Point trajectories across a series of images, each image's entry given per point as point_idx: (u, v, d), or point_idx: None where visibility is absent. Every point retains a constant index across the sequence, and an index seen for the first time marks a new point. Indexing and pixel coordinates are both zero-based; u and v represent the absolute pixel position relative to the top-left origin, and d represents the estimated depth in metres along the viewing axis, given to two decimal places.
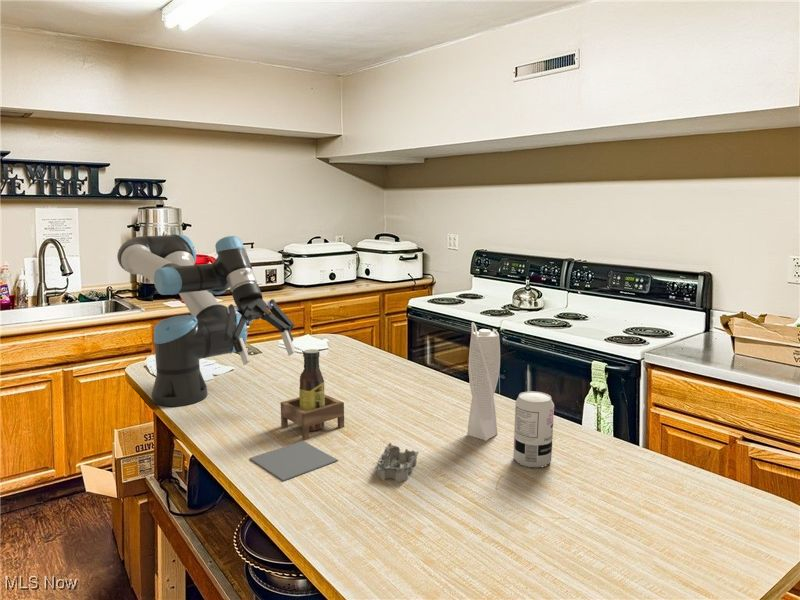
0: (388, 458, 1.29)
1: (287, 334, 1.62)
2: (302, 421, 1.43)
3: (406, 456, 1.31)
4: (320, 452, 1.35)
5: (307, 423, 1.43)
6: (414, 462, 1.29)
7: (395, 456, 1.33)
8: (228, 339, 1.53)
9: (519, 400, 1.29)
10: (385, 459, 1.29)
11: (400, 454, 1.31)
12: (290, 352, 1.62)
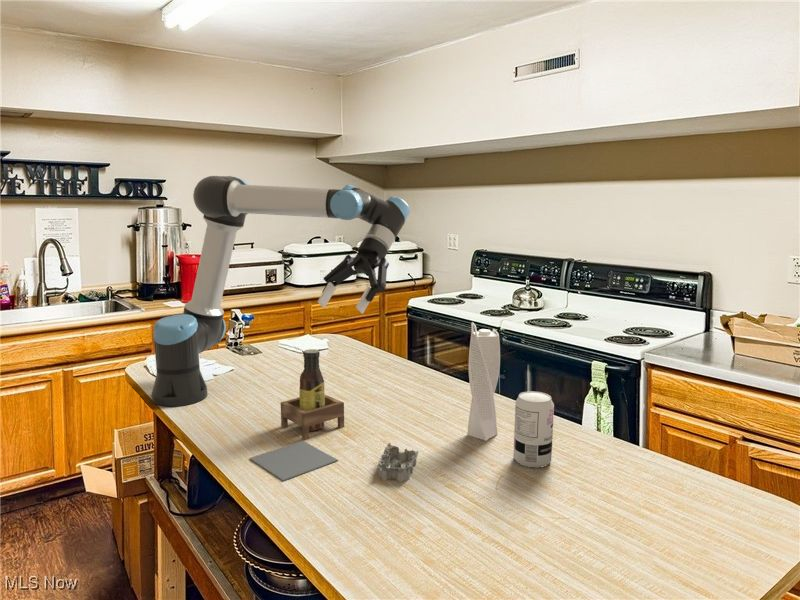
0: (388, 458, 1.29)
1: None
2: (302, 421, 1.43)
3: (406, 456, 1.32)
4: (320, 452, 1.35)
5: (307, 423, 1.43)
6: (414, 461, 1.30)
7: (394, 457, 1.33)
8: (380, 288, 1.51)
9: (519, 400, 1.29)
10: (385, 459, 1.29)
11: (400, 454, 1.31)
12: (322, 303, 1.58)
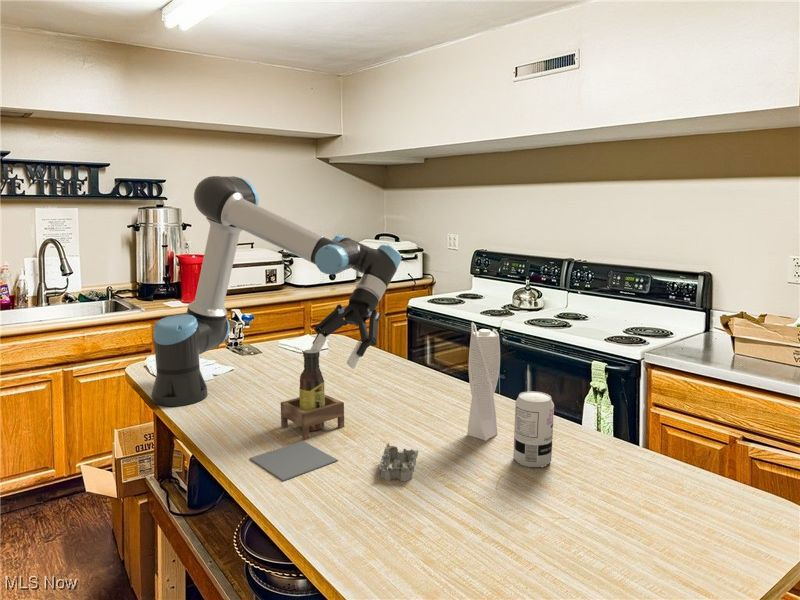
0: (388, 459, 1.29)
1: None
2: (302, 421, 1.43)
3: (405, 456, 1.32)
4: (320, 452, 1.35)
5: (307, 423, 1.43)
6: (414, 461, 1.30)
7: (393, 457, 1.33)
8: (371, 343, 1.49)
9: (519, 400, 1.29)
10: (386, 460, 1.29)
11: (399, 454, 1.31)
12: None
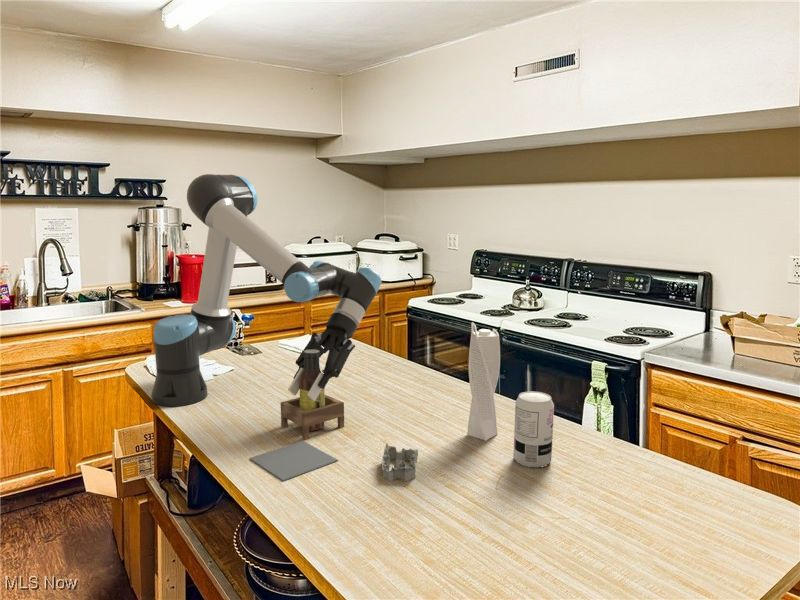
0: (389, 459, 1.29)
1: None
2: (302, 421, 1.43)
3: (404, 455, 1.32)
4: (320, 452, 1.35)
5: (307, 423, 1.43)
6: None
7: (392, 457, 1.33)
8: (333, 375, 1.46)
9: (519, 400, 1.29)
10: (386, 460, 1.28)
11: (398, 454, 1.31)
12: (293, 391, 1.48)
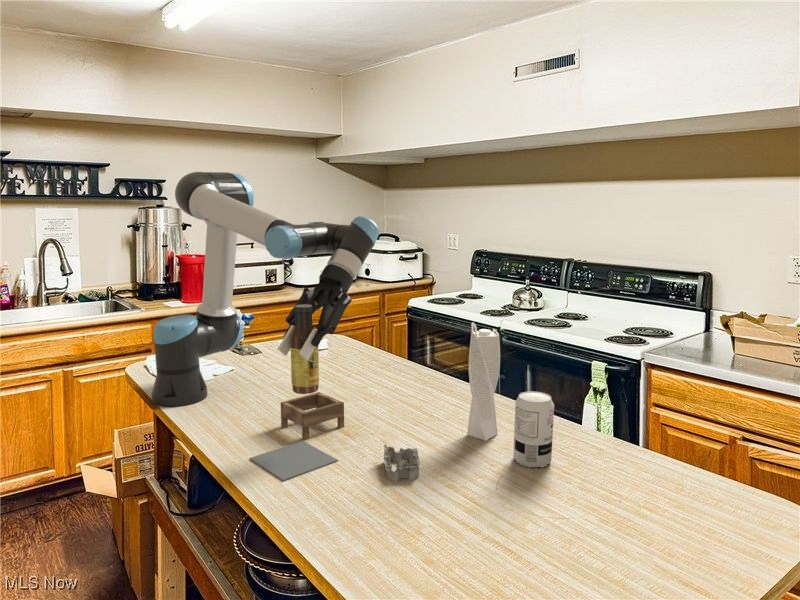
0: (389, 459, 1.29)
1: None
2: (302, 421, 1.43)
3: (402, 455, 1.32)
4: (320, 452, 1.35)
5: (307, 423, 1.43)
6: None
7: (390, 457, 1.33)
8: (327, 331, 1.31)
9: (519, 400, 1.29)
10: (387, 461, 1.28)
11: (397, 454, 1.31)
12: (284, 351, 1.33)
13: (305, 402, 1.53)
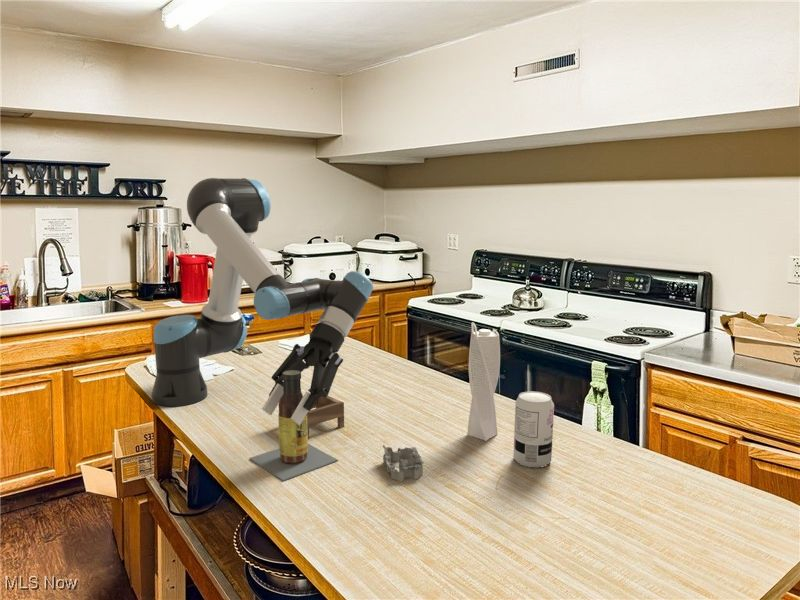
0: (390, 460, 1.28)
1: None
2: None
3: (401, 455, 1.32)
4: (320, 452, 1.35)
5: (307, 423, 1.43)
6: None
7: None
8: (321, 394, 1.26)
9: (519, 400, 1.29)
10: (389, 461, 1.28)
11: (395, 454, 1.31)
12: (268, 411, 1.30)
13: None
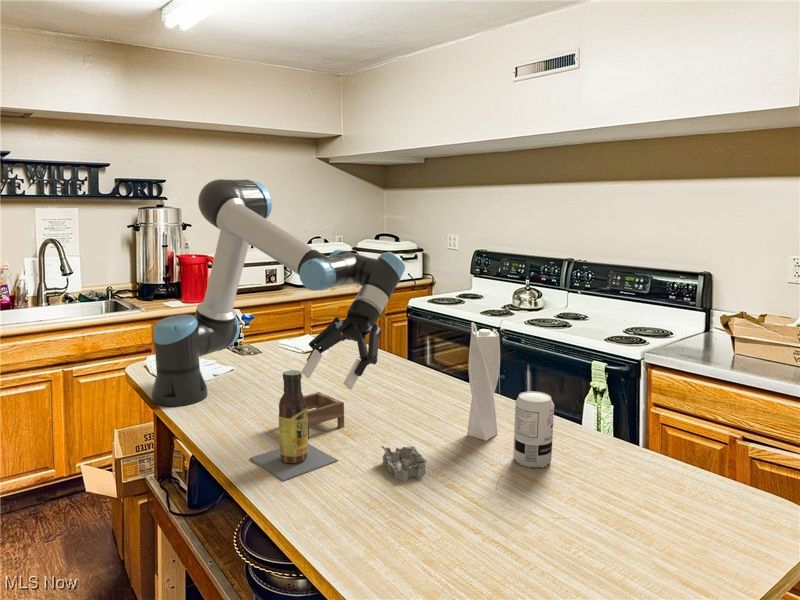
0: (391, 460, 1.28)
1: None
2: None
3: (399, 454, 1.32)
4: (320, 452, 1.35)
5: None
6: None
7: None
8: (370, 361, 1.35)
9: (519, 400, 1.29)
10: (390, 462, 1.27)
11: (394, 454, 1.31)
12: (307, 374, 1.42)
13: None
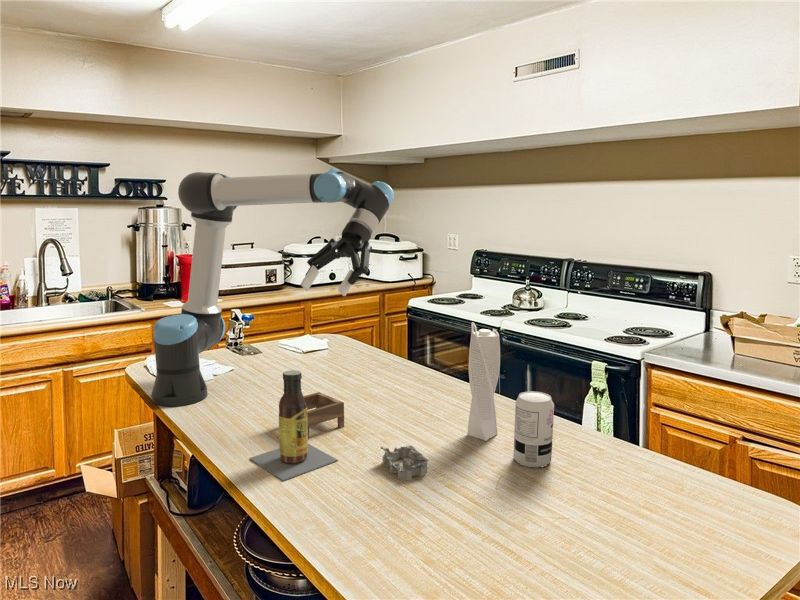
0: (392, 461, 1.28)
1: None
2: None
3: (398, 454, 1.32)
4: (320, 452, 1.35)
5: None
6: None
7: None
8: (362, 271, 1.51)
9: (519, 400, 1.29)
10: (391, 462, 1.27)
11: (393, 454, 1.31)
12: (305, 286, 1.58)
13: None
